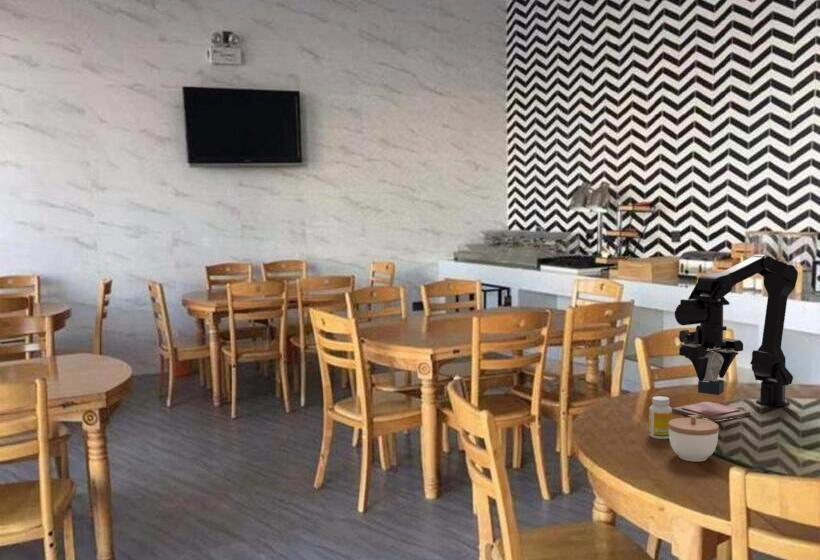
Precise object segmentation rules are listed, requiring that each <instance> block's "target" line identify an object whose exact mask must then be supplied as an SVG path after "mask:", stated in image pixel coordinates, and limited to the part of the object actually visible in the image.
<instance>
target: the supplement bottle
mask: <svg viewBox="0 0 820 560" xmlns="http://www.w3.org/2000/svg"><path fill="white" fill-rule="evenodd" d="M651 402H652V405H650V407H649V408H648V409H649V410H648V414H649V415H648V436H650V438H654V439H658V440H666V439H667V440H668V439H669V427H668V422H669V421H670V420H672V419H673V412H672V407H671V406H669V405H670V403H671V402H670V397H667V396H661V395H658V396H657V395H656V396H653V397H652V399H651Z"/></svg>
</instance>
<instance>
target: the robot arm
mask: <svg viewBox="0 0 820 560" xmlns="http://www.w3.org/2000/svg"><path fill="white" fill-rule="evenodd" d="M756 274H757V275H759V276H761V277H763V285H764V288H765V290H766V293H767V301H766V302H767V303H766V308H765V318H764V324H763V331H762V340H761V345H760V346H759V348H758V349H756V350H755V349H753V350H752V352H751V361H750V363H749V364H750V365H751V371H752V372H753V376H754V379H755V381H760V399H757V400H755V402H756V403H757V404H762V405H766V406H770V407H774V408H777V407H781V406H785V405H790V404H791V402H790V401H787V400H786V386H789V385H792V383H793V380H794V375H793V374H792V373H791V372H790V371H789V370H788V368H787V367H786V356H785V354H784V351H783V350H782V341H783V333H784V326H785V320H786V319H785V318H786V311H787V304H788V298H789V295H790V294H791V293H792V292H793V291H794V289H795V288H796V284H797V280H798V278H799V272H798V270H797V269H796V267H795V266H794V265H792V264H787V263H786V262H783V261H780V260H778V259H775V258H773V257H772V256H771V255H770V256H769V255H768V254H753V255H752V256H750V257H749V258H747V259H745V260H743V261H740V262H739V263H737V264H734V265H733V266H731V267H729V268H726V269H725V270H723V271H717V272H711V273H708V274H703V275H700V276H698V279H697V281H696V284H695V285H694V288H693V289H692V291H691V293H690V295H689V296H688V298H687V299H684V298H683V299H680V302H679V304H678V305H677V306H676V309H675V310H674V319H675V321H676V322H677V324H678V325H680V326H691V325H696V327H695V331H689V330H688V329H683V330H680V331H679V333H678V339H679V342H681V343H683V344H681V345H680V346H679V349H678V354H679V356H683V357H684V358H685V359H688V360H689V361H690V362H691V364H692V365H693V368H694V371H695V373H696V376H697V379H698V381H701V382H703V380H704V377H705V373H706V368H707V364H708V360H709V358H708V357H705V355H706V354H707V352H717V353H719V354H720V355H721V356H722V357H723V359H724V362H723V364H722V367H721V370H719V375H718V378H722V379H724V377H725V376H726V374H727V372H728V370H729V368H730V366H731V364H732V362H734V360H735V358H736V356H737V355H739V352H743V351H744V343H743V342H742V340H741V339H734V338H728V337H725V338H724V331H727V325H726V326H725V325H724V306H729V305H730V302H729V300H727V299H726V298H725V296H727V295H729V293H730V292H731V291H732V289H733V287H734V286H736V285H738V284H739V283H741V282H743V281H745V280H747V279H749V278H751V277H753V276H755V275H756Z"/></svg>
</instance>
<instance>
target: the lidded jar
mask: <svg viewBox="0 0 820 560" xmlns="http://www.w3.org/2000/svg"><path fill="white" fill-rule="evenodd" d="M668 427H669V438H668V439H669V444H670V446H671V448H672V450H673V452H675V453H676V455H678V458H679V459H681V460H684V461H686V462H695V463H696V462H705V461H707V460H708V459H709V457H710V456H712V455H713V453H714V452H715V450H716V449H717V445H718V442H719V430H720V429H719V428H720V426H719V424H718V422H717V423H715V422H712V421H709V420H705V419H699V418H696V417H695V416H691V417H679V418H678V417H677V418H672V420H670V421H669V422H668Z"/></svg>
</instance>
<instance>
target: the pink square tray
mask: <svg viewBox="0 0 820 560" xmlns="http://www.w3.org/2000/svg"><path fill="white" fill-rule="evenodd" d="M671 409H672V413H675V414H679V415H683V416H685V417H689V416H688V415H698V416H702V417H704V418H708V419H711V420H713V421H715V420H723V419H730V418H736V419H739V418H738V417H741V418H745V417H749V416H751V412H750V411H748V410H743V409H740V408H736V407H731V406H728V405H724V404H720V403H715V402H711V401H702V402H696V403H693V404H692V403H691V404H688V405H687V404H686V405H682V406H676V407H671Z"/></svg>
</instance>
